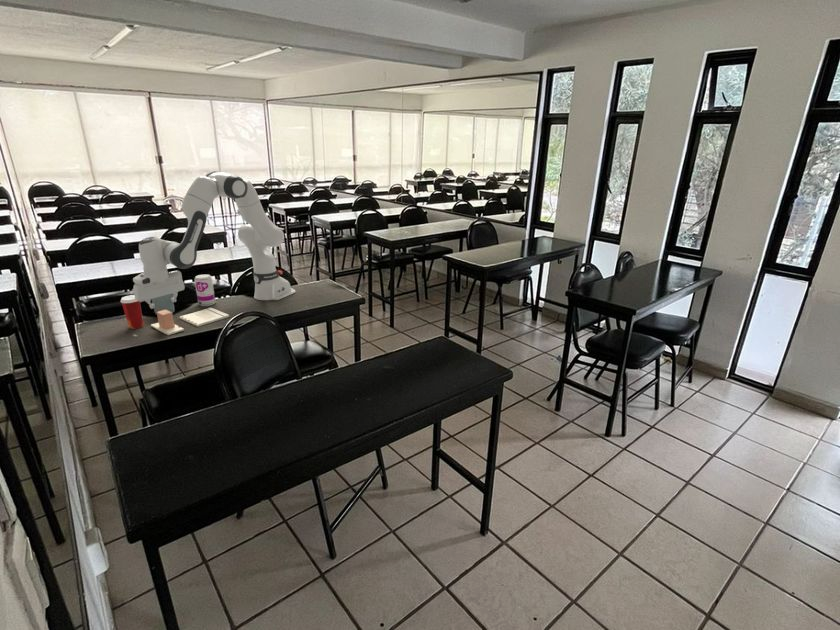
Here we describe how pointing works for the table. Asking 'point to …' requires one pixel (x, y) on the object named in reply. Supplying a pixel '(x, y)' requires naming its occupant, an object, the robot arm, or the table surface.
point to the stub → (166, 323)
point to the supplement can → (204, 290)
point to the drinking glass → (163, 303)
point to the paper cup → (132, 311)
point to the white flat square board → (204, 317)
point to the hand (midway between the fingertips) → (163, 304)
